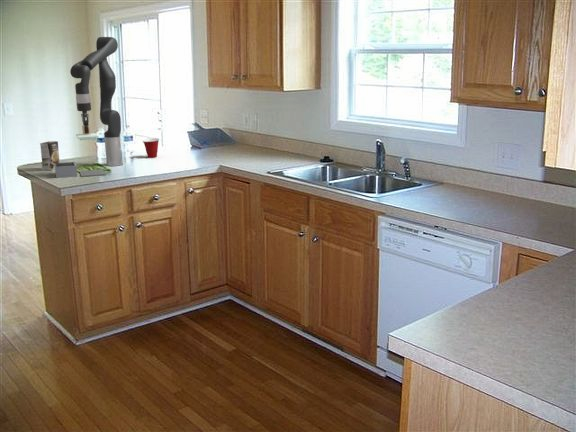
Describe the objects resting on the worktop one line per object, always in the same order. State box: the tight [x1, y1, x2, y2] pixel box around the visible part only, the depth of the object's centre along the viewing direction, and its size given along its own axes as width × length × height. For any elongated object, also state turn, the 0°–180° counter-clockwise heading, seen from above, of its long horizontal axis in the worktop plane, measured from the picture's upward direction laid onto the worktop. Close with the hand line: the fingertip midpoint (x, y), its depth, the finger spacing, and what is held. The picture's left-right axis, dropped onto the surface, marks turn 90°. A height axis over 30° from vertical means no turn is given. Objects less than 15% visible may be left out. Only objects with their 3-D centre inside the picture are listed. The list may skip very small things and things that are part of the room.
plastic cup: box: [142, 137, 160, 159], centre depth 402 cm, size 11×11×12 cm
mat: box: [79, 169, 106, 178], centre depth 351 cm, size 13×15×1 cm
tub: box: [54, 161, 78, 179], centre depth 347 cm, size 11×13×6 cm
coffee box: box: [39, 140, 61, 172], centre depth 363 cm, size 9×6×16 cm
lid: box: [75, 124, 99, 141], centre depth 345 cm, size 11×13×7 cm
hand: (86, 133), depth 348 cm, fingers closed on lid
